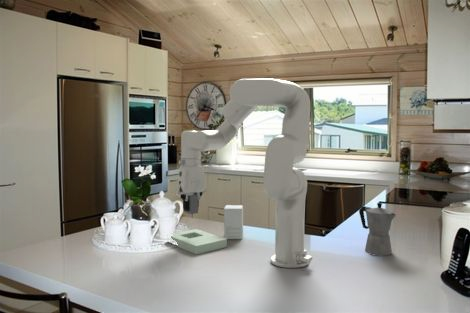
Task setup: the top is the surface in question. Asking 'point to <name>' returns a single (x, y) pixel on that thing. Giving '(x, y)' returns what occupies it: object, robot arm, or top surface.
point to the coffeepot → (377, 229)
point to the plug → (192, 204)
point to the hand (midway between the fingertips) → (190, 209)
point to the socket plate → (198, 241)
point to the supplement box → (233, 221)
